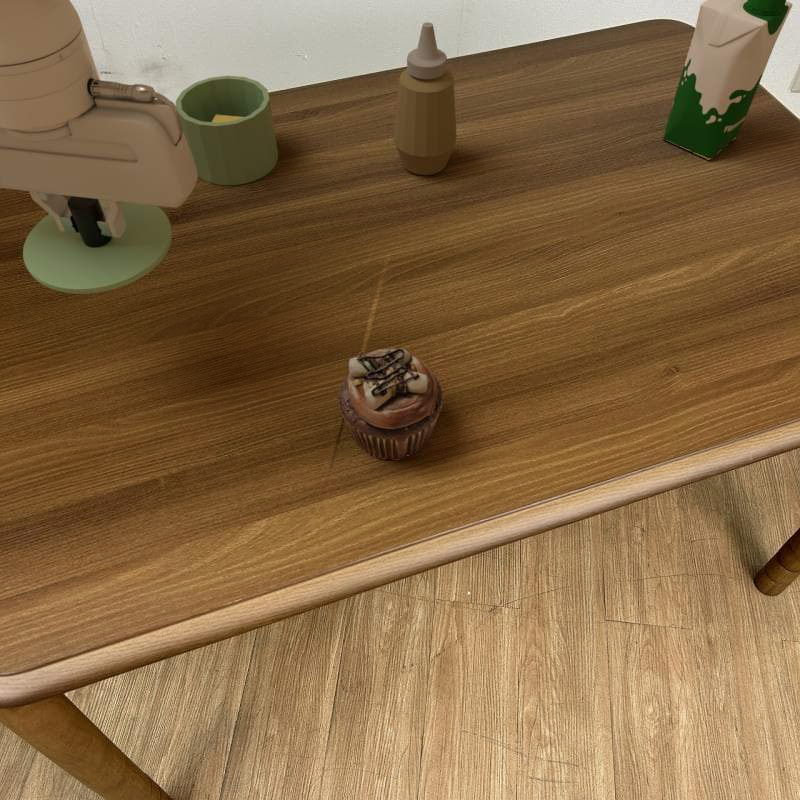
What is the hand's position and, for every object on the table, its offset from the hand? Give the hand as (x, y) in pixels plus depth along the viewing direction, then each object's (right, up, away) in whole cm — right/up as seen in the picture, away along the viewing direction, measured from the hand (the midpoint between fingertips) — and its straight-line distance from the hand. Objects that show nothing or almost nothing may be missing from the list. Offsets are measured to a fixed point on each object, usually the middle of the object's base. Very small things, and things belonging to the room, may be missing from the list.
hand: (94, 230), depth 63 cm
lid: (0, -1, +1) cm, 2 cm away
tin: (+4, +17, +35) cm, 40 cm away
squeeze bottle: (+29, +17, +35) cm, 48 cm away
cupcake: (+25, -17, +8) cm, 32 cm away
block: (+4, +18, +35) cm, 39 cm away
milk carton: (+67, +21, +38) cm, 79 cm away
